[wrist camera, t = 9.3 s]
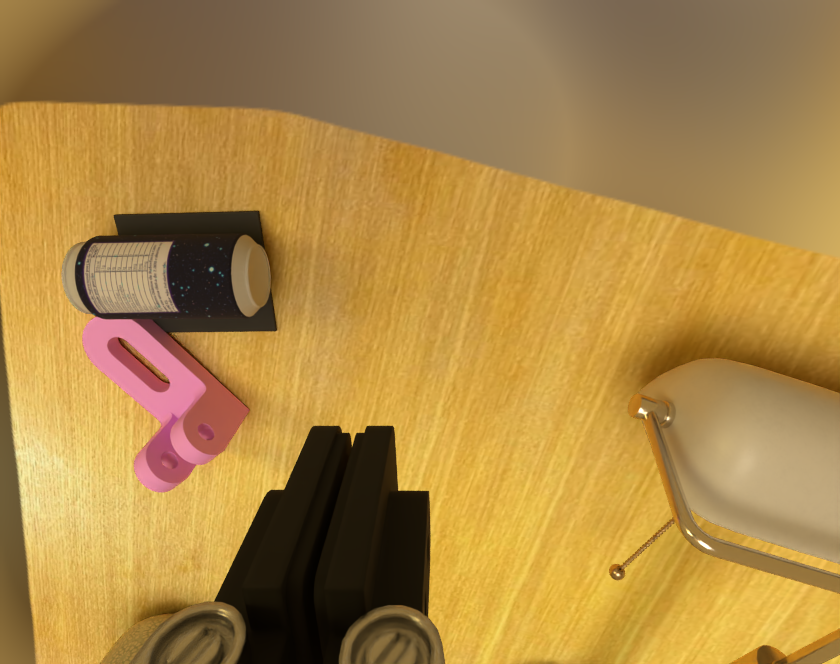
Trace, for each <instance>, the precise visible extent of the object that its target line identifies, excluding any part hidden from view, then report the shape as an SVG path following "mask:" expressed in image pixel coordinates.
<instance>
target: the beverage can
mask: <svg viewBox="0 0 840 664" xmlns="http://www.w3.org/2000/svg"><path fill="white" fill-rule="evenodd" d="M62 283H63V287H64V291H65V293H66V296H67V297H68V299H69V301H70V302H71V304H72V305H73V306H74V307H75V308H76V309H78V310H79V311H81V312H83V313H86V314H93V315H95V316H97V317H99V318H101V319H106V320H115V319H237V318H251V317H252V316H253V315H254V314H255V313H256V312H257V311H258V310H259V308H260V307H263V306H264V305H265V304H266V302H267V300H268V297H269V293H270V285H271V274H270V266H269V261H268V257H267V254H266V252H265V250H264V249H263V247H262V246H260V245H259V244H257V243H256V242H255V241H254V240H253V239H252V238H251V237H250V236H248V235H247V234H245V233H231V234H175V235H118V236H96V237H94V238H92V239H90V240H88V241H87V242H80V243H77V244H76V245H74V246H73V247H71V248H70V250H69V251H68V252H67V254H66V256H65V258H64V261H63V266H62Z"/></svg>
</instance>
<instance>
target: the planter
mask: <svg viewBox="0 0 840 664" xmlns="http://www.w3.org/2000/svg"><path fill="white" fill-rule="evenodd" d="M172 615H173V614H161V615H156V616H152V617H149V618H146V619H144V620H142V621H140V622H138V623H136V624H135V625H133V626H132V627H131V628H130V629H128V630H127V631H126V632H125V633H124V634H123V635H122V636H121V637H120V639H119V640H118V641H117V642H116V643H115V644H114V646H113V647H112V648H111V649H110V651H109V652H108V653H107V654H106V656H105V657H104V658H103V660H102V661H101V662H100V664H129V663H130V662H131V661H132V659H133V658H134V657H135V655H136V654H137V653H138V651H139V650H140V648H141V647H142V646H143V644H144V643H145V642H146V640H147V639H148V638H149V636H150V635H151V634H152V633H153V632H154V631H155V630H156V629H157V628H158V626H159V625H160V624H161V623H163V622H164V621H165V620H167V619H168V618H169V617H171V616H172Z"/></svg>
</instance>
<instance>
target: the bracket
mask: <svg viewBox="0 0 840 664" xmlns="http://www.w3.org/2000/svg"><path fill="white" fill-rule="evenodd" d="M118 337H120V338H123V339H124V340H126V341H127V342H128V343H129V344H131V345H132V346H133V347H134V348H135V349H136V350H137V351H138V352H140V353H141V354H142V355H143V356H144V357H145V358H146V359H147V360H148V361H150V362H151V363H152V364H153V365H154V366H155V367H156V368H157V369H159V370H160V371H161V372H162V373H163V374H164V375H165V376H166V377H167V378H168V379H169V381H170V384H169V383H164V382H162V381H161V380H160V379H158V378H157V377H156V376H155V375H154V374H153V373H152V372H151V371H149V370H148V369H147V368H146V367H145V366H144V365H143V364H141V363H140V362H139V361H138V360H137V359H136V358H135V357H134V356H132V355H131V354H130V353H129V352H128V351H127V350H126V349H125V348H123V347H122V346H121V344H120V343H119V341H118ZM82 341H83V346H84V350H85V352H86V354H87V356H88V358H89V359H90V360H91V362H92V363H93V364H94V365H95V366H96V367H97V368H98V369H99V370H101V371H102V372H103V373H104V374H105V375H106V376H108V377H109V378H110V379H111V380H112V381H113V382H115V383H116V384H117V385H118V386H119V387H120V388H122V389H123V390H124V391H125V392H126V393H127V394H129V395H130V396H131V397H132V398H133V399H134V400H136V401H137V402H138V403H139V404H140V405H142V406H143V407H144V408H145V409H146V410H147V411H149V412H150V413H151V414H152V415H153V416H154V417H156V418H157V419H158V420H159V421H160V423H161V428H160V429H159V430H158V431H157V432H156V434H155V435H154V436H153V437H152V438H151V439H150V440H149V442H148V443H147V444H146V445H145V446H144V447H143V448H142V450H141V451H140V452H139V453H138V454H137V456H136V458H135V461H134V470H135V473H136V476H137V478H138V479H139V481H140V482H141V483H142V484H143V485H144V486H145V487H147V488H148V489H150V490H152V491H156V492H167V491H170V490H172V489H173V488H175V487H176V486H177V485H179V484H180V483H181V482H183V481H184V480H185V479H186V478H187V477H188V476H189V475H190V473H191V472H192V470H193V469H194V467H195V466H196V465H202V464H206V463H208V462H209V461H211V460H212V459H213V458H215V457H216V456H217V455H219V454H220V453H221V452H223V451H224V450H225V448H226V447H227V445H228V444H229V442H230V440H231V439H232V437H233V436H234V434H235V433H236V431H237V429H238V428H239V426H240V425H241V423H242V421H243V420H244V418H245V417H246V415H247V414H248V412H249V409H248V408H247V407H246V406H245V405H244V404H243V403H241V402H240V401H239V400H238V399H237V398H236V397H235V396H234V395H233V394H232V393H231V392H230V391H228V390H227V389H226V388H225V387H224V386H223V385H222V384H221V383H220V382H219V381H218V380H217V379H215V378H214V377H213V376H212V375H211V374H210V373H209V372H208V371H207V370H206V369H205V368H204V367H202V366H201V365H200V364H199V363H198V362H197V361H196V360H195V359H194V358H193V357H192V356H191V355H189V354H188V353H187V352H186V351H185V350H184V349H183V348H182V347H181V346H180V345H179V344H178V343H176V342H175V341H174V340H173V339H172V338H171V337H170V336H169V335H168V334H167V333H166V332H165V331H163V330H162V329H161V328H160V327H159V326H158V325H157V324H156V323H155V322H154V321H153V320H151V319H115V320H106V319H101V318H99V317H97V316H96V317H95V318H93V319H92V320H90V321H89V322H88V324H87V325H86V327H85V328H84V331H83V337H82ZM163 464H164V465H165V466H164V465H163Z"/></svg>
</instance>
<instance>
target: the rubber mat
mask: <svg viewBox="0 0 840 664" xmlns="http://www.w3.org/2000/svg"><path fill="white" fill-rule="evenodd" d="M114 219H115V223H116V227H117V231H118V235H175V234H231V233H245V234H247V235H248V236H250V237H251V238H252V239H253V240H254V241H255V242H256V243H257V244H259V245H260V246H262V247H263V249H264V250H265V248H264V242H263V235H262V228H261V222H260V215H259V211H239V212H199V213H160V214H120V215H114ZM151 320H153V321H154V322H155V323H156V324H157V325H158V326H159V327H160V328H161V329H162V330H163V331H165V332H243V331H276V330H277V328H276V321H275V314H274V308H273V301H272V295H271V288H270V293H269V297H268V300H267V302H266V304H265V305H264V306H263V307H260V308H259V310H258V311H257V312H256V313H255V314H254V315H253V316H252V317H251V318H237V319H151Z"/></svg>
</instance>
